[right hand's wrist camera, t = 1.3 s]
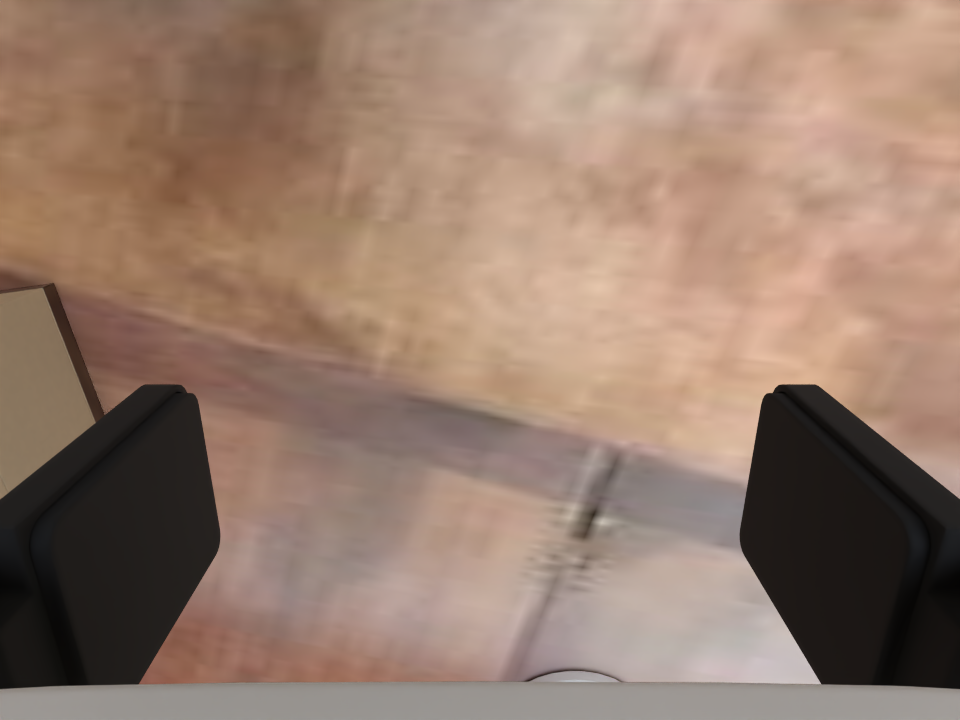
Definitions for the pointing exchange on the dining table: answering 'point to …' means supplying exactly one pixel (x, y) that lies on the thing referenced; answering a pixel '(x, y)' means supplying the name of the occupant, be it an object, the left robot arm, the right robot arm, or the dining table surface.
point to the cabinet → (39, 383)
